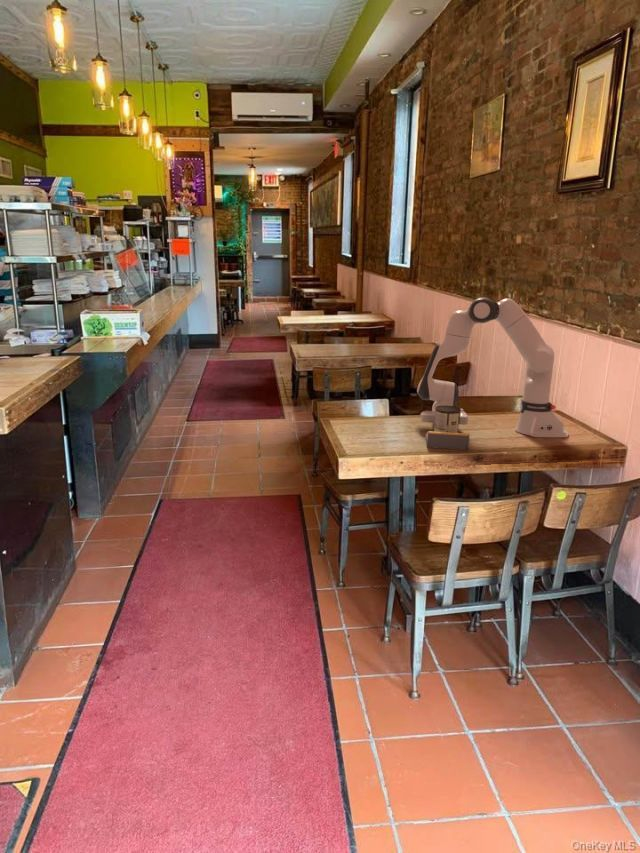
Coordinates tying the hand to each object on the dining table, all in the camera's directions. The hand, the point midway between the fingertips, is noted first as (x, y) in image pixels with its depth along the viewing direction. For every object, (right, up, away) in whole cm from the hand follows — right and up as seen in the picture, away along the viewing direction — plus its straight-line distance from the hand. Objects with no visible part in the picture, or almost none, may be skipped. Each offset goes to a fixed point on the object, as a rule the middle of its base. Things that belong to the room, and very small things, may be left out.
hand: (445, 422), depth 268 cm
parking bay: (-1, -9, -8) cm, 12 cm away
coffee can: (-1, -8, -3) cm, 8 cm away
